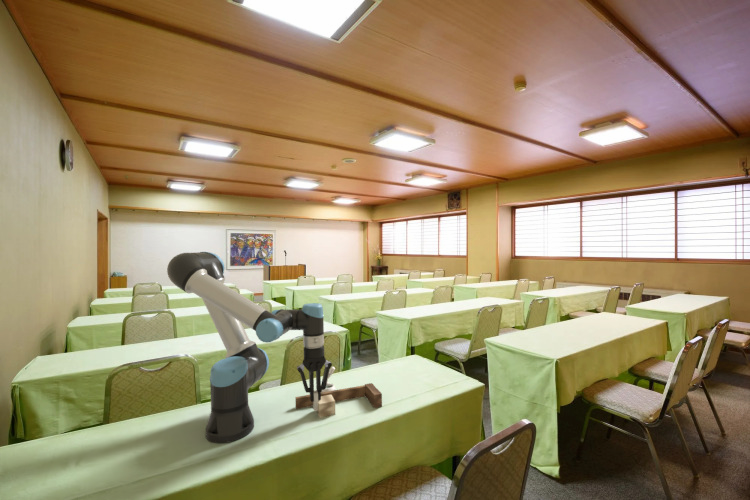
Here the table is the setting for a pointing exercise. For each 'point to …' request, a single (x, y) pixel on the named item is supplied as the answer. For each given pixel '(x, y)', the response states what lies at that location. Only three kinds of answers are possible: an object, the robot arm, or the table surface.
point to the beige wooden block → (326, 406)
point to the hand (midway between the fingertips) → (315, 409)
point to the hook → (328, 382)
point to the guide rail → (347, 395)
